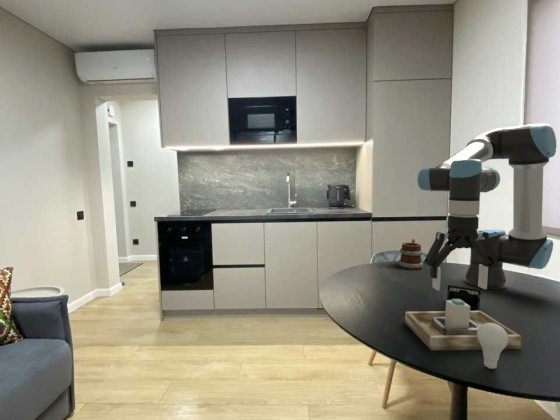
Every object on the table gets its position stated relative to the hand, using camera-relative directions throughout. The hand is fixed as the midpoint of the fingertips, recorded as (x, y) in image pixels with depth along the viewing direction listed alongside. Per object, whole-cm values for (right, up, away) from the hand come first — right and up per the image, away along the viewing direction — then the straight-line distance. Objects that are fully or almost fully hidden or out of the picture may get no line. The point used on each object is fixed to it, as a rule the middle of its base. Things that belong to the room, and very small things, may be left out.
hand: (459, 288), depth 90 cm
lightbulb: (-2, -15, -16) cm, 22 cm away
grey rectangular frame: (0, -13, +1) cm, 13 cm away
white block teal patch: (0, -12, +1) cm, 12 cm away
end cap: (+13, -12, +21) cm, 27 cm away
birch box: (0, -13, 0) cm, 13 cm away
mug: (+15, -6, +70) cm, 72 cm away
